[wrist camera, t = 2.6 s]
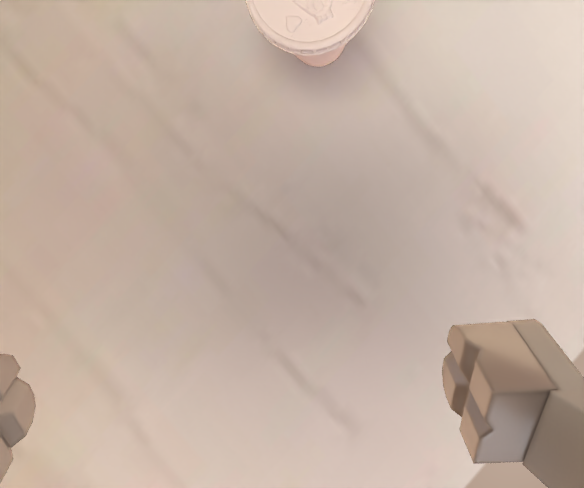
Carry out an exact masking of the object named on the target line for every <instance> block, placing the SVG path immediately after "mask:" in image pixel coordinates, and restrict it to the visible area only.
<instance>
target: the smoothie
mask: <svg viewBox="0 0 584 488" xmlns="http://www.w3.org/2000/svg"><path fill="white" fill-rule="evenodd" d="M245 1H246V5H247V7H248V10H249V13H250V16H251V18H252V20H253V22H254V23H255V25H256V27H257V28H258V30H259V32H260V33H261V34H262V35H263V36H264V37H265V38H266V39H267V40H268V41H269V42H270V43H271V44H273V45H275V46H277V47H278V48H280V49H282V50H284V51H286V52H289V53H293V54H294V55H295V56H296V57H298V58H299V59H300V60H301V61H302V62H304V63H305V64H307V65H310V66H315V67H321V66H325V65H328V64H330V63H332V62H333V61H335V60H336V59H337V58H338V57H339V56H340V54H341V53H342V51H343V49H344V47H345V46H346V44H347V42H348V41H350V40H351V39H352V38H353V37H354V36H355V35H356V34H357V32H358V31H359V30H360V29H361V28H362V27H363V26H364V24H365V22H366V20H367V18H368V16H369V15H370V13H371V11H372V9H373V5H374V1H375V0H245Z"/></svg>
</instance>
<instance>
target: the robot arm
mask: <svg viewBox="0 0 584 488" xmlns="http://www.w3.org/2000/svg"><path fill="white" fill-rule="evenodd" d="M447 342H448V344H449V346H450V348H451V352H450V353H449V354H448V355H447V356H446V357H445V358H444V361H443V368H442V377H443V387H444V390H445V394H446V398H447V400H448V403H449V405H450V408H451V409H452V410H453V411H455V412H456V413H457V414H459V415H460V416H461V417H462V421H461V425H460V432H461V434H462V437H463V439H464V442H465V444H466V446H467V449H468V451H469V453H470V456H471V458H472V461H473V463H501V462H523V465H524V466H525V467H526V468H527V469H528V470H529V471H530V472H531V473H533V474H534V475H535V476H536V477H537V478H538V479H539V480H540V481H541V482H542V483H543V484H545V485H546V486H547V487H548V488H584V377H583V376H582V375H581V373H580V372H579V371H578V370H577V368H576V367H575V366H574V364H573V363H572V362H571V361H570V359H569V358H568V357H567V356H566V354H565V353H564V352H563V350H562V349H561V348H560V347H559V345H558V344H557V343H556V341H555V340H554V339H553V338H552V336H551V335H550V334H549V333H548V331H547V330H546V329H545V327H544V326H543V325H542V324H541V323H540V322H539V321H537V320H535V319H529V320H516V321H507V322H492V323H478V324H464V325H453V326H452V327H451V329H450V330H449V334H448V339H447ZM19 371H20V366H19V365H18V363H17V361H16V360H15V358H14V356H13V355H8V354H0V483H1V481H2V479H3V477H4V476H5V474H6V472H7V470H8V468H9V466H10V464H11V462H12V461H13V454H12V450H11V447H13V446H14V445H15V444H16V443H18V442H19V441H20V440H21V439H22V438H24V437H25V436H26V434H27V432H28V430H29V428H30V426H31V424H32V422H33V418H34V412H35V407H36V404H35V398H34V393H33V391H32V389H31V387H30V385H29V384H27V383H26V382H24V381H22V380H21V379H19V378H18V377H17V375H18V373H19Z"/></svg>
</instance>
